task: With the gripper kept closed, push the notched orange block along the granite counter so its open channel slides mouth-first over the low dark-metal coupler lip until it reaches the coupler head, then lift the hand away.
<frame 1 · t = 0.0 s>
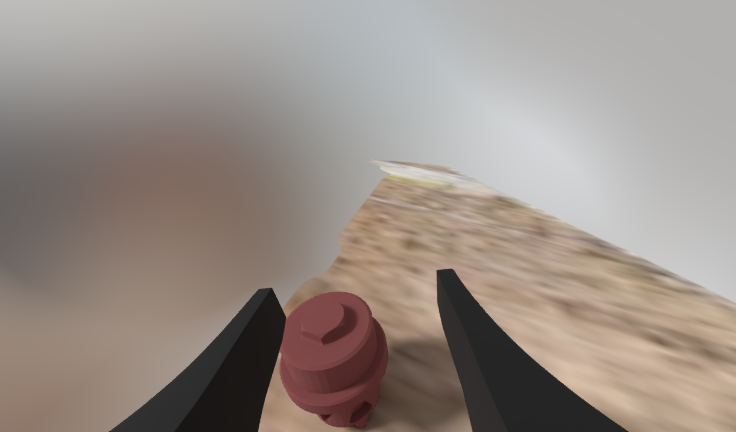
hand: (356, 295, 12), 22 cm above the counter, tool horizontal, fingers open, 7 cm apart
mechanical component: (349, 399, 30), on the counter
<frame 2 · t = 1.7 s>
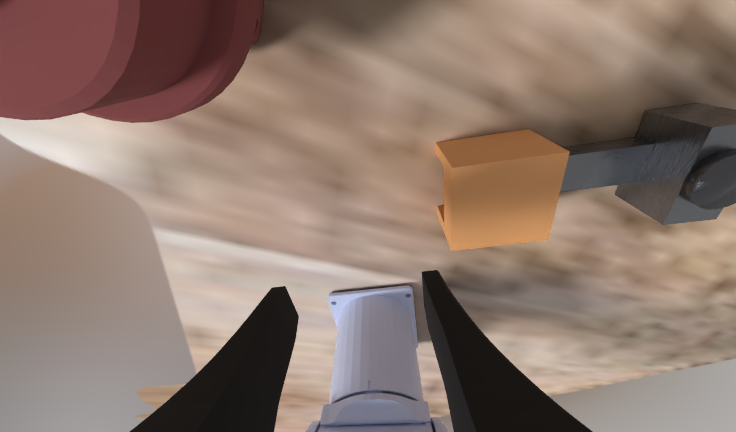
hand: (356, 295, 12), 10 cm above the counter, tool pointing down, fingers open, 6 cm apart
coupler: (590, 161, 19), on the counter
notched orange block: (478, 175, 20), on the counter
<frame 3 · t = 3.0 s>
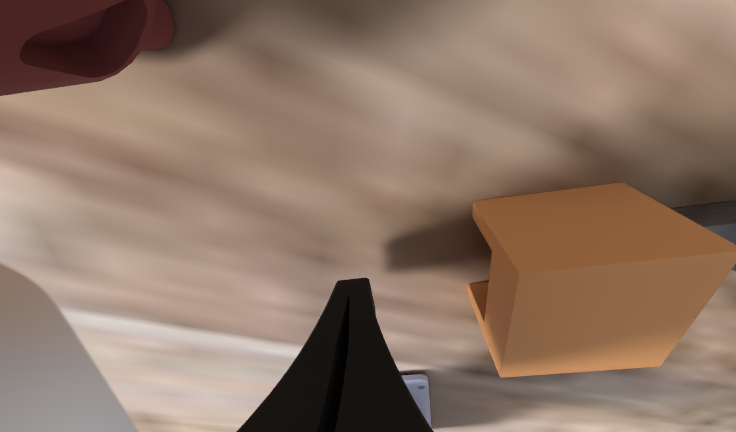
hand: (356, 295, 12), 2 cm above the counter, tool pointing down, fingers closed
coupler: (709, 227, 12), on the counter
notched orange block: (534, 245, 13), on the counter
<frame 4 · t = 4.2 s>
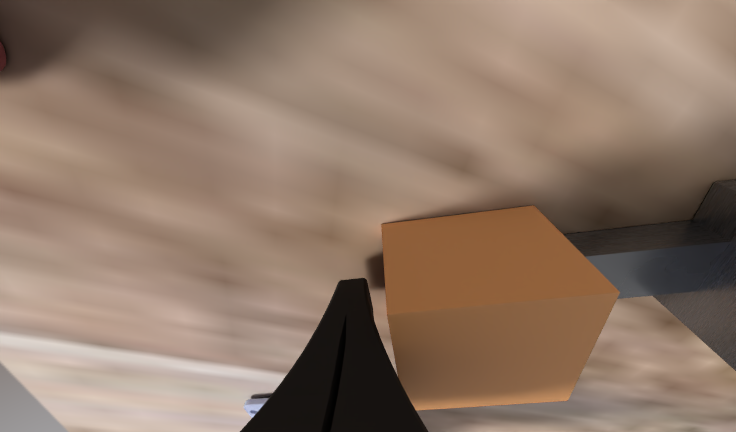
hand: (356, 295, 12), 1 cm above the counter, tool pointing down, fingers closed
coupler: (615, 251, 12), on the counter
notched orange block: (454, 268, 13), on the counter, touching gripper
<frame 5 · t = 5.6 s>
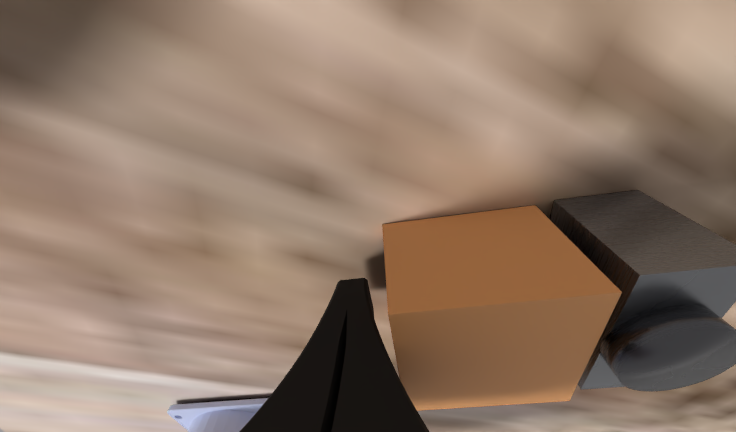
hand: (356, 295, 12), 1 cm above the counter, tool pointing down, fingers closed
coupler: (482, 265, 12), on the counter
notched orange block: (455, 268, 13), resting in coupler, touching gripper
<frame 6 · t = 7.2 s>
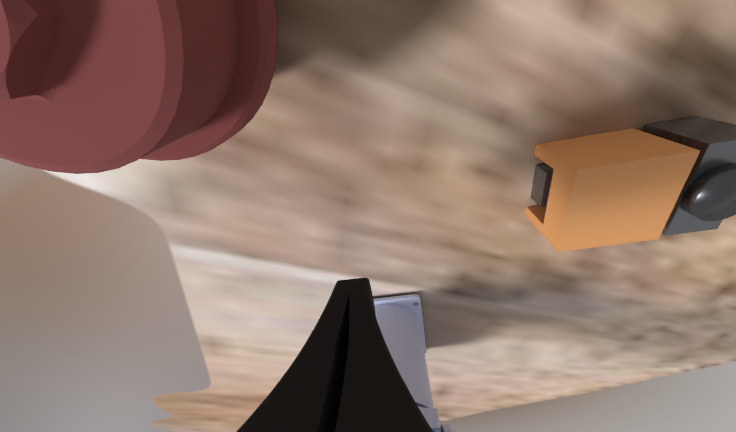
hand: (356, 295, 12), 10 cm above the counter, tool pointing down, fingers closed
mechanical component: (221, 18, 15), on the counter
coupler: (592, 173, 20), on the counter
notched orange block: (573, 175, 20), resting in coupler
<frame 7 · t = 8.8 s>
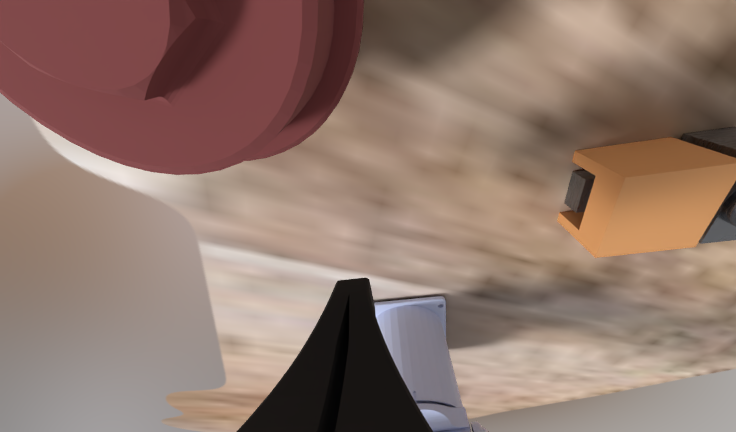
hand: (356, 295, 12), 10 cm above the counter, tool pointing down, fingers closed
mechanical component: (274, 18, 15), on the counter
coupler: (626, 180, 20), on the counter
notched orange block: (608, 182, 20), resting in coupler
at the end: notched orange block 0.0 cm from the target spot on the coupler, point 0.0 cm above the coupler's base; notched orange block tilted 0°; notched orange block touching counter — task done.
